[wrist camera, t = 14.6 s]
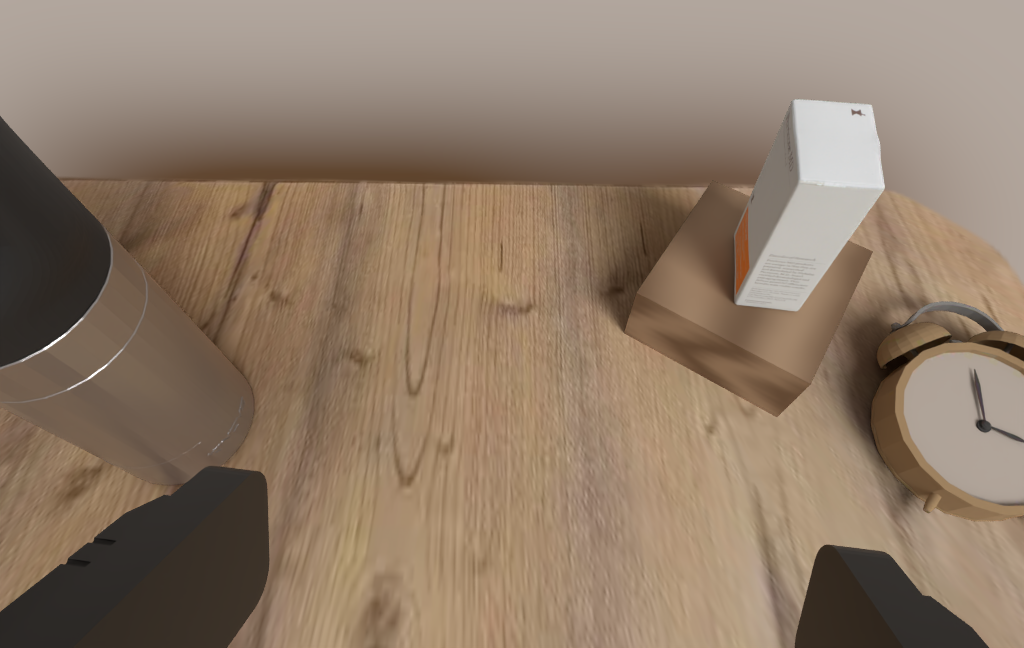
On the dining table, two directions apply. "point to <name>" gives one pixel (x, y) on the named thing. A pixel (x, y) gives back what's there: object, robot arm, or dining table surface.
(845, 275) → the walnut block
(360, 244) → the dining table surface
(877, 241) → the dining table surface
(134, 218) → the dining table surface
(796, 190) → the skincare box
